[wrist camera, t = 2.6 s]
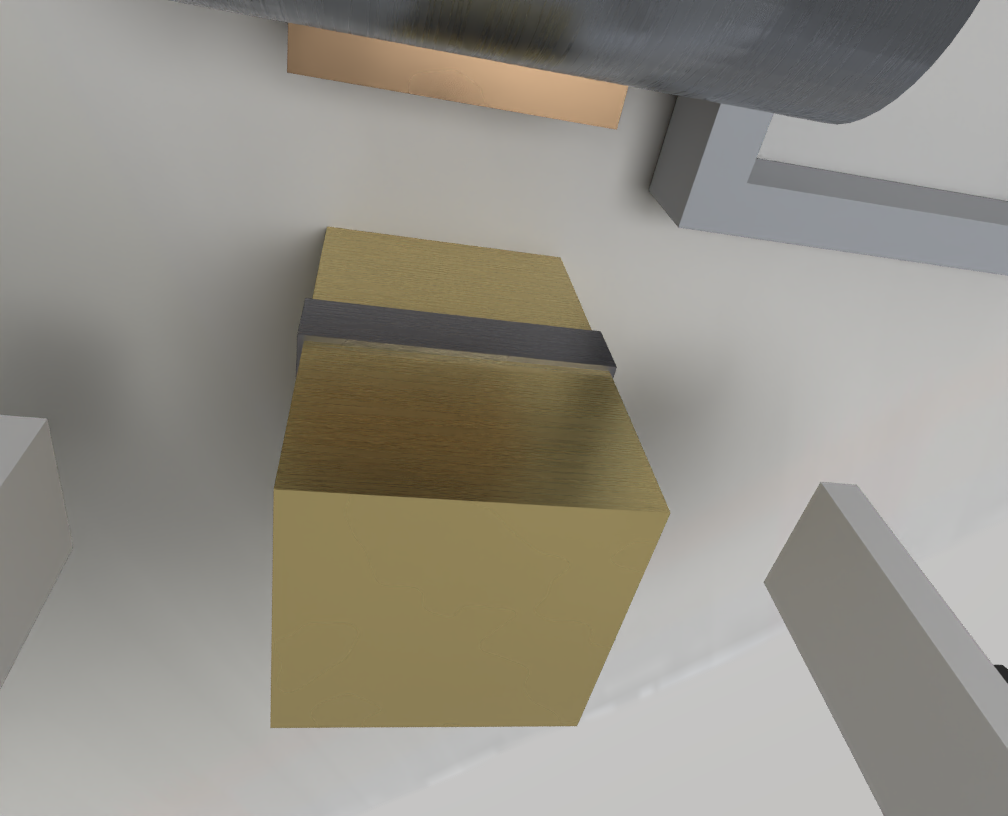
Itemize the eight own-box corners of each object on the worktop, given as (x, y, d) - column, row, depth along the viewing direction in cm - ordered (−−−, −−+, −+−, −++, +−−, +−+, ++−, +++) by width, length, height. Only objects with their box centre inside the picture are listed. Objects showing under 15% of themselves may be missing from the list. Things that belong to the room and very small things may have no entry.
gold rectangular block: (312, 423, 18) (263, 731, 11) (322, 220, 15) (264, 482, 8) (518, 439, 19) (581, 729, 12) (566, 253, 16) (680, 507, 9)
